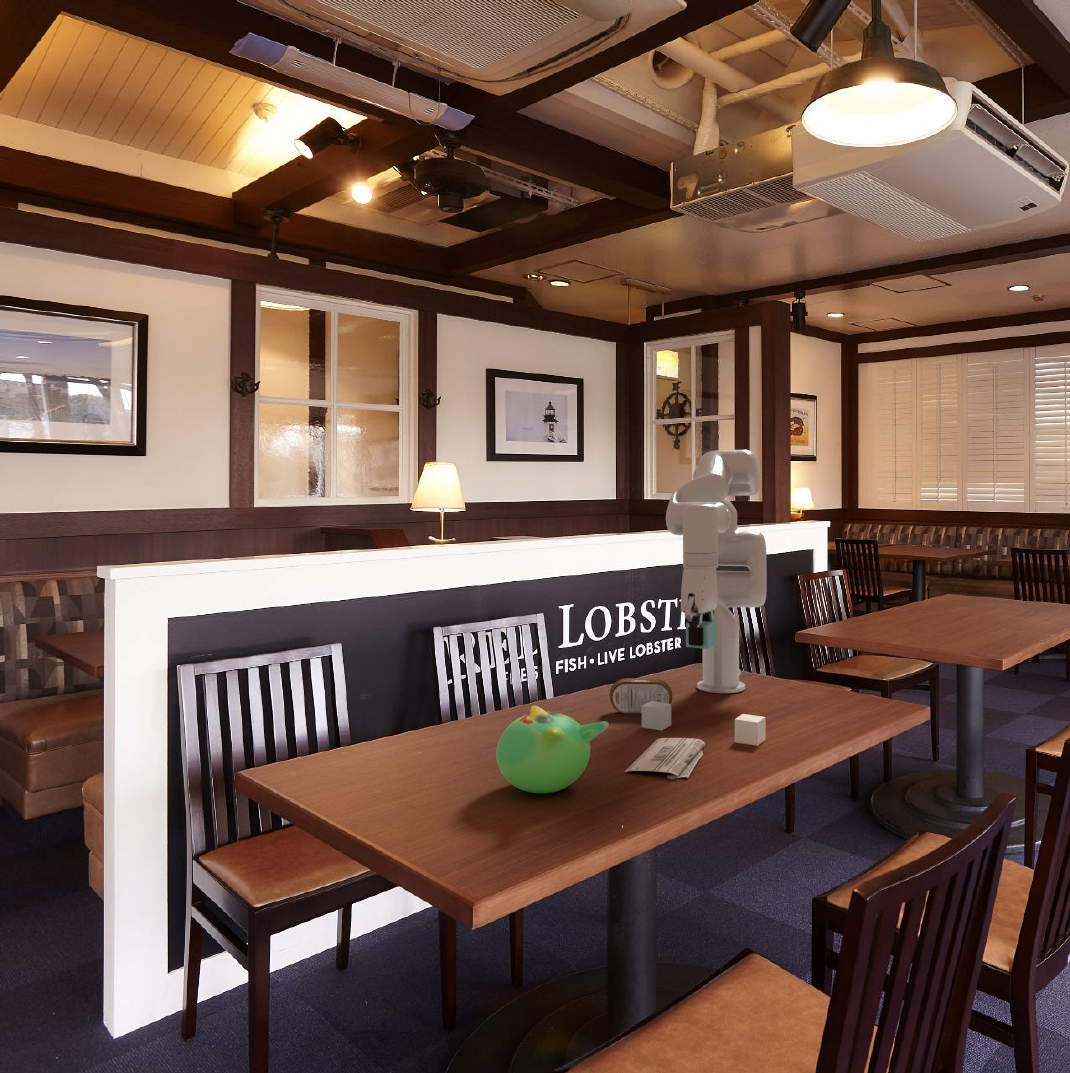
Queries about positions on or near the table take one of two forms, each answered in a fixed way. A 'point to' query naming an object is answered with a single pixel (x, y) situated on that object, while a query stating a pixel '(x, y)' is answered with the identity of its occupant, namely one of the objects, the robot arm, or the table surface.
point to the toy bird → (545, 750)
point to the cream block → (750, 729)
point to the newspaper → (670, 757)
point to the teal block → (705, 635)
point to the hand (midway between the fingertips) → (701, 642)
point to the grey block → (656, 715)
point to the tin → (638, 694)
